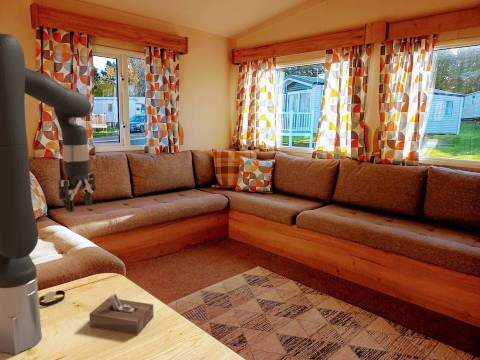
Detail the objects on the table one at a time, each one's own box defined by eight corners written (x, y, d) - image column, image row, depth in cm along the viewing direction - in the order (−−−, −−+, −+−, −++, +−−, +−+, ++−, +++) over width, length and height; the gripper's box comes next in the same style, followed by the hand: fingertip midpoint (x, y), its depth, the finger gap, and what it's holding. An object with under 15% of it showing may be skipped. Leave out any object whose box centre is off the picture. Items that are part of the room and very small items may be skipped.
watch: (61, 295, 116) (60, 284, 115) (68, 300, 113) (67, 289, 112) (36, 304, 110) (35, 293, 109) (43, 309, 107) (42, 298, 106)
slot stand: (137, 335, 95) (137, 321, 94) (90, 326, 98) (89, 313, 98) (153, 316, 104) (153, 304, 103) (109, 309, 107) (108, 297, 107)
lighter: (135, 322, 101) (134, 296, 100) (132, 325, 100) (131, 299, 98) (113, 318, 103) (112, 292, 101) (109, 321, 101) (108, 295, 100)
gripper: (81, 155, 120) (84, 202, 123) (49, 161, 106) (53, 212, 110) (100, 156, 118) (103, 203, 121) (70, 162, 105) (74, 215, 108)
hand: (79, 208), depth 115 cm, fingers open, 8 cm apart
